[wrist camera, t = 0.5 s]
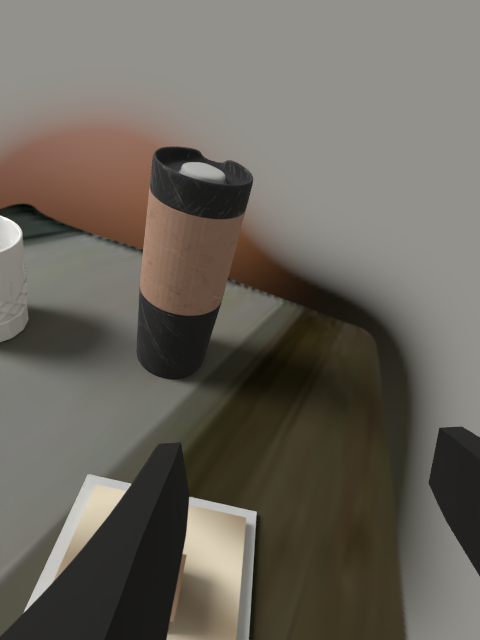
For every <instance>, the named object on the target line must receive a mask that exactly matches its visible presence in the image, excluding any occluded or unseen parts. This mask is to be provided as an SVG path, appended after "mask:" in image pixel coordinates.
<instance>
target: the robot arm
mask: <svg viewBox="0 0 480 640" xmlns="http://www.w3.org/2000/svg"><path fill="white" fill-rule="evenodd" d="M429 485H430V487H431V489H432V491H433V493H434V496H435V498H436V501H437V503H438V505H439V507H440V509H441V511H442V513H443V515H444V517H445V519H446V521H447V523H448V524H449V526H450V528H451V530H452V531H453V533H454V535H455V536H456V538H457V540H458V541H459V543H460V545H461V546H462V547H463V550H464V551H465V553H466V554H467V556H468V557H469V559H470V561H471V563H472V564H473V566H474V567H475V569H476V571H477V572H478V574H479V576H480V437H478V436H476V435H475V434H473V433H472V432H470V431H468V430H466V429H465V428H463V427H446V428H439V433H438V438H437V443H436V448H435V454H434V459H433V463H432V468H431V474H430V479H429ZM188 508H189V490H188V484H187V478H186V471H185V465H184V459H183V453H182V446H181V443H165V444H159V445H158V446H157V447H156V448H155V450H154V451H153V453H152V454H151V456H150V457H149V459H148V460H147V462H146V463H145V465H144V466H143V468H142V469H141V471H140V472H139V474H138V475H137V477H136V478H135V480H134V481H133V483H132V484H131V486H130V487H129V488H128V490H127V491H126V493H125V494H124V495H123V497H122V498H121V499H120V501H119V502H118V504H117V505H116V506H115V508H114V509H113V510H112V512H111V513H110V514H109V516H108V517H107V518H106V520H105V521H104V522H103V523H102V525H101V526H100V527H99V528H98V530H97V531H96V532H95V533H94V535H93V536H92V537H91V538H90V540H89V541H88V542H87V543H86V545H85V546H84V547H83V548H82V550H81V551H80V552H79V553H78V554H77V555H76V557H75V558H74V559H73V560H72V561H71V562H70V564H69V565H68V566H67V567H66V568H65V569H64V570H63V572H62V573H61V574H60V575H59V576H58V577H57V578H56V579H55V580H54V582H53V583H52V584H51V585H50V586H49V587H48V588H47V589H46V590H45V591H44V592H43V593H42V595H41V596H40V597H39V598H38V599H37V600H36V601H35V602H34V603H33V604H32V605H31V606H30V607H29V608H28V609H27V610H26V611H25V612H24V613H23V614H22V615H21V616H20V617H19V618H18V619H17V620H16V621H15V622H14V623H13V624H12V625H11V626H10V627H9V628H8V629H7V630H6V631H5V632H4V633H3V634H2V635H1V636H0V640H166V639H167V633H168V628H169V622H170V617H171V612H172V607H173V601H174V596H175V591H176V586H177V581H178V576H179V570H180V565H181V560H182V554H183V549H184V544H185V538H186V531H187V520H188Z"/></svg>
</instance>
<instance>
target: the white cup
mask: <svg viewBox="0 0 480 640" xmlns="http://www.w3.org/2000/svg"><path fill="white" fill-rule="evenodd" d="M26 283H27V279H26V268H25V258H24V247H23V236H22V230H21V228H20V227H19V226H18V225H17V224H16V223H15V222H13V221H11V220H10V219H8V218H5V217H2V216H0V342H2V341H6V340H9V339H11V338H13V337H14V336H16V335H17V334H18V333H20V332H21V331H23V330H24V328H25V326H26V324H27V322H28V320H29V318H28V309H27V284H26Z"/></svg>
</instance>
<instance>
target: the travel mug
mask: <svg viewBox="0 0 480 640" xmlns="http://www.w3.org/2000/svg"><path fill="white" fill-rule="evenodd" d="M252 183H253V176H252V174H251V173H250V172H249V171H248V170H247V169H246V168H245V167H243V166H242V165H240V164H238V163H236V162H234V161H231V160H227V161H226V162H224V163H218V162H214V161H211V160H208V159H206V158H205V157H203V155H202V154H201V152H200V151H198V150H196V149H192V148H186V147H163V148H160V149H158V150H156V151H155V153H154V155H153V160H152V170H151V179H150V189H149V199H148V209H147V219H146V229H145V239H144V249H143V259H142V269H141V278H140V293H139V314H138V334H137V356H138V359H139V361H140V363H141V365H142V366H143V367H144V368H145V369H146V370H147V371H149V372H150V373H152V374H154V375H156V376H159V377H163V378H172V379H175V378H182V377H186V376H188V375H191V374H192V373H194V372H195V371H196V370H197V369H198V368H199V367H200V365H201V364H202V361H203V359H204V356H205V353H206V350H207V346H208V343H209V340H210V337H211V334H212V331H213V327H214V324H215V321H216V318H217V315H218V312H219V308H220V305H221V301H222V298H223V295H224V291H225V287H226V283H227V279H228V276H229V271H230V268H231V264H232V260H233V256H234V252H235V249H236V245H237V241H238V237H239V233H240V230H241V225H242V222H243V218H244V214H245V210H246V207H247V203H248V199H249V195H250V191H251V188H252Z"/></svg>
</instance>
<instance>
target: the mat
mask: <svg viewBox="0 0 480 640" xmlns="http://www.w3.org/2000/svg"><path fill="white" fill-rule="evenodd" d="M95 484H98V485H102V486H107V487H111V488H116V489H120V490H125V491H127V490H128V488H129V487H130V486H131V484H130V483H126V482H121V481H117V480H112V479H108V478H103V477H99V476H94V475H90V474H88V475H87V478H86V480H85V482H84V484H83V486H82V488H81V490H80V493H79V495H78V497H77V499H76V501H75V503H74V505H73V508H72V510H71V512H70V514H69V516H68V518H67V520H66V523H65V525H64V527H63V529H62V531H61V533H60V536H59V538H58V540H57V542H56V544H55V546H54V548H53V551H52V553H51V555H50V557H49V559H48V561H47V563H46V566H45V568H44V570H43V572H42V574H41V576H40V578H39V581H38V583H37V585H36V587H35V589H34V591H33V594H32V596H31V598H30V600H29V602H28V604H27V606H26V609H25V611H26V610H27V609H28V608H29V607H30V606H31V605H32V604H33V603H34V602H35V601H36V600H37V599H38V598H39V597H40V596H41V595H42V593H43V592H44V591H45V590H46V589H47V588H48V587H49V586H50V585H51V584H52V583H53V580H54V578H55V576H56V574H57V571H58V569H59V567H60V564H61V562H62V560H63V558H64V555H65V553H66V551H67V548H68V546H69V544H70V542H71V539H72V537H73V535H74V532H75V530H76V528H77V526H78V523H79V521H80V519H81V516H82V514H83V512H84V510H85V507H86V505H87V503H88V500H89V498H90V496H91V494H92V491H93V489H94V487H95ZM189 505H192V506H196V507H201V508H205V509H210V510H214V511H219V512H223V513H228V514H232V515H237V516H241V517H246V527H245V539H244V551H243V564H242V576H241V588H240V600H239V612H238V624H237V637H236V640H249V628H250V612H251V595H252V579H253V562H254V546H255V529H256V513H257V512H255V511H250V510H246V509H241V508H237V507H232V506H228V505H223V504H219V503H214V502H210V501H206V500H201V499H197V498H192V497H189ZM25 611H24V612H25Z"/></svg>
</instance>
